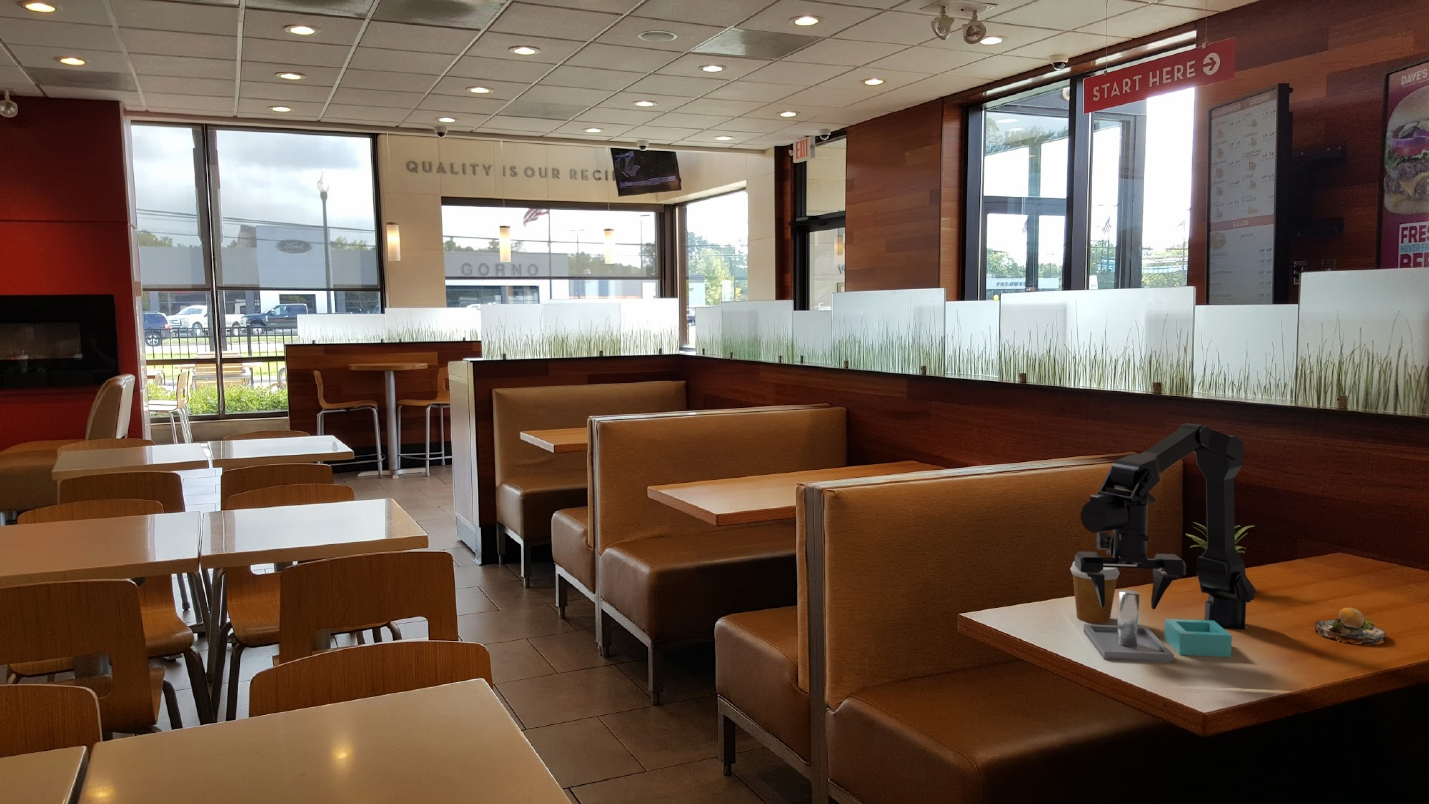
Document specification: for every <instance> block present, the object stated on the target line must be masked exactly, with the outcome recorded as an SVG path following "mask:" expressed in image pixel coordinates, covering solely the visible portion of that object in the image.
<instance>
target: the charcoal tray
mask: <svg viewBox="0 0 1429 804" xmlns="http://www.w3.org/2000/svg"><path fill="white" fill-rule="evenodd" d="M1083 633H1084V635H1085V636H1086V637H1087V639H1088V640H1089V641H1090V643H1091V644H1092V646H1093V647H1094V648H1095V649H1096V650H1097V652H1098V653H1099V655H1100V656H1101V657H1102V659H1103V660H1104V661H1121V662H1123V661H1124V662H1126V661H1127V662H1146V663H1147V662H1148V663H1149V662H1150V663H1166V664H1167V663H1170V664H1171V663H1174V660H1175V659H1174V655H1175V654H1174V653H1173V652H1172V651H1171V650H1170V649H1169V648H1168V647H1167V646H1166V645H1165V644H1164V643H1163V642H1162V641H1161V640H1160V638H1159V637H1158V636H1156V634H1155V633H1154V632H1152V630H1151V629H1150V628H1148V626H1139V625H1138V634H1137V646H1135V647H1125V646H1121V645H1118V644H1117V643H1116V642H1117V625H1113V624H1112V625H1109V624H1108V625H1107V624H1090V623H1088V624H1086V623H1085V624H1084V623H1083Z"/></svg>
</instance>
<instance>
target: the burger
mask: <svg viewBox="0 0 1429 804" xmlns="http://www.w3.org/2000/svg"><path fill="white" fill-rule="evenodd" d="M1355 604H1356V603H1355ZM1355 604H1353V606H1355ZM1365 619H1366V620H1365ZM1371 620H1372V618H1370V617H1369V618H1365V615H1364V614H1363V613H1362V612H1361V611H1360V610H1358V609H1356V608H1355V607H1344V608H1342V609H1340V611H1339V612H1338V618H1335V619H1322V620H1317V621H1315V622H1314V630H1315V631H1318V632H1317V633H1318V635H1319V634H1320V635H1322V636H1321V637H1323V636H1326V637H1325V638H1329V639H1331V638H1332V639H1335V641H1337V640H1339V641H1346V643H1350V644H1351V643H1355V644H1356V643H1362V644H1377V643H1379V642H1380V641H1382V640H1383V639H1384V638H1385V637H1386V636H1387V632H1386V631H1385V630H1384V629H1382V628H1381V627H1380V628H1379V627H1378V626H1376V625H1377V622H1373V621H1371ZM1315 631H1314V632H1315ZM1320 635H1319V636H1320ZM1355 644H1354V645H1355Z"/></svg>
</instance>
